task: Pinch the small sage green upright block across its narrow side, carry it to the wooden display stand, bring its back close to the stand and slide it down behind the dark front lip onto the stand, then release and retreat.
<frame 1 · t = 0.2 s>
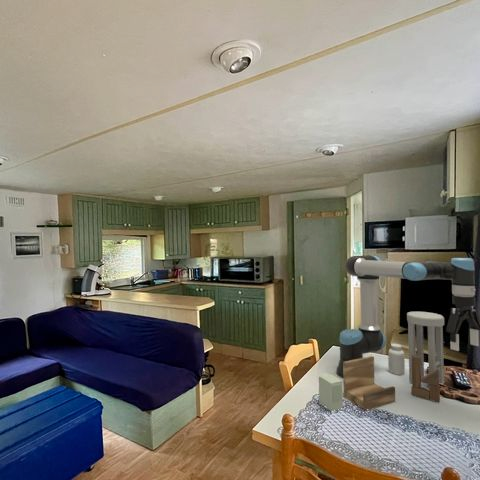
hand: (464, 347, 118), 28 cm above the table, fingers open, 13 cm apart
wooden display stand: (359, 393, 136), on the table
sage green upright block: (330, 406, 125), on the table
pill bottle: (396, 372, 159), on the table
stool: (426, 384, 145), on the table
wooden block: (425, 397, 133), on the table
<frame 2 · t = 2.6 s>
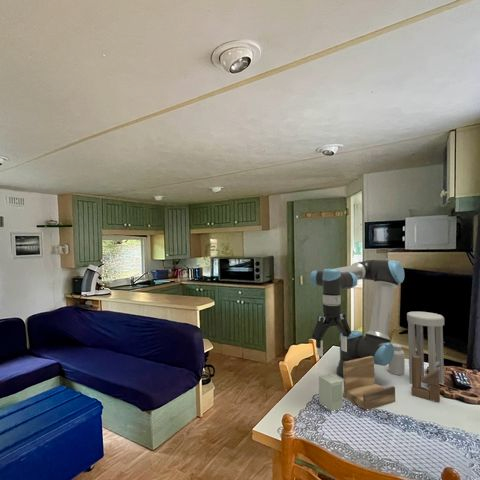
hand: (332, 353, 126), 23 cm above the table, fingers open, 13 cm apart
nothing on the table moved.
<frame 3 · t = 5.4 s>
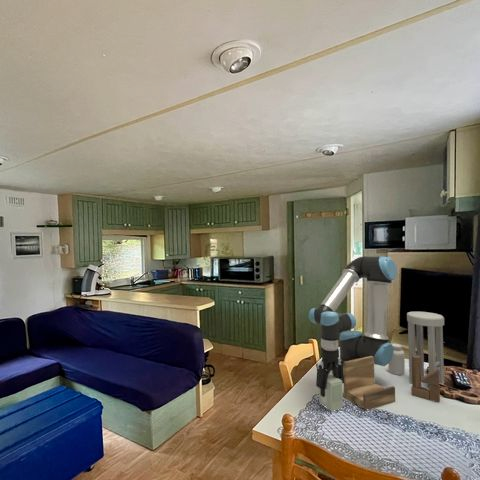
hand: (330, 401, 126), 2 cm above the table, fingers closed on sage green upright block, 6 cm apart
sage green upright block: (330, 406, 125), on the table, touching gripper
everything else where it was.
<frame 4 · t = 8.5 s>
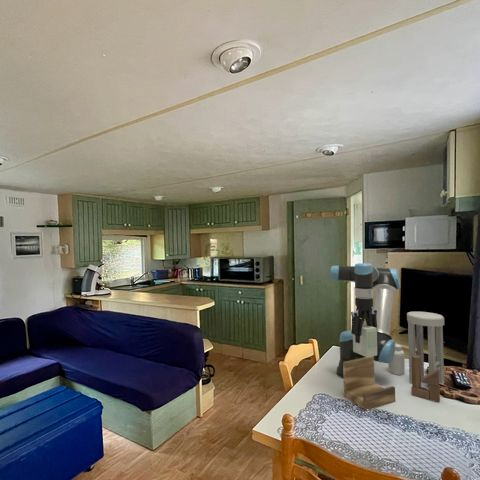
hand: (364, 348, 130), 23 cm above the table, fingers closed on sage green upright block, 6 cm apart
sage green upright block: (365, 353, 130), point 21 cm above the table, touching gripper
everything else where it was.
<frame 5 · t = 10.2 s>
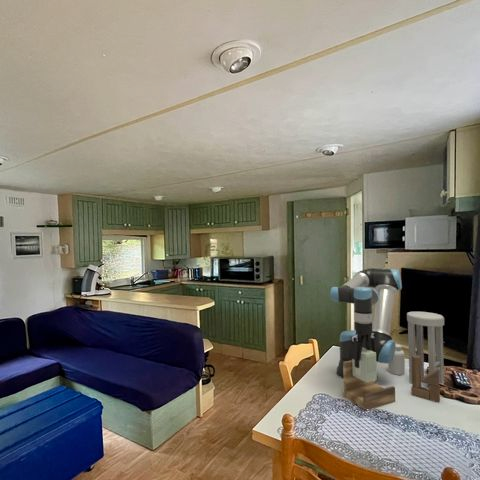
hand: (364, 373, 130), 12 cm above the table, fingers closed on sage green upright block, 6 cm apart
sage green upright block: (364, 377, 130), point 10 cm above the table, touching gripper
everything else where it was.
when the fingers open (6 cm above the table, at t = 11.8 s): sage green upright block stays where it is, resting on wooden display stand.
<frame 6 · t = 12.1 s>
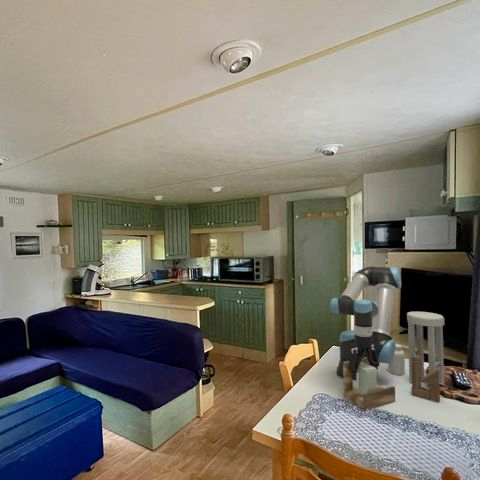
hand: (364, 384, 130), 7 cm above the table, fingers open, 9 cm apart
sage green upright block: (364, 392, 130), point 3 cm above the table, touching wooden display stand
everything else where it was.
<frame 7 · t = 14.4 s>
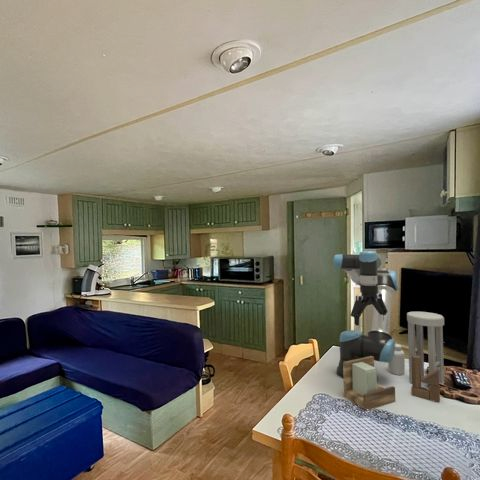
hand: (369, 330, 133), 31 cm above the table, fingers open, 13 cm apart
nothing on the table moved.
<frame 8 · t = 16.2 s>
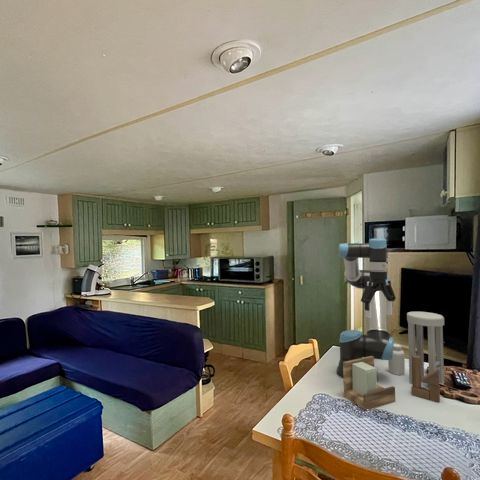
hand: (379, 316, 136), 37 cm above the table, fingers open, 13 cm apart
nothing on the table moved.
at the end: sage green upright block inside the target area (2.0 cm from its centre), point 3.5 cm above the table; sage green upright block tilted 0°; the gripper is holding nothing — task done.
